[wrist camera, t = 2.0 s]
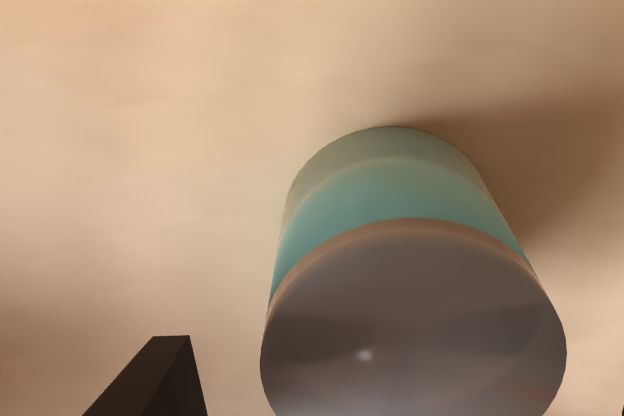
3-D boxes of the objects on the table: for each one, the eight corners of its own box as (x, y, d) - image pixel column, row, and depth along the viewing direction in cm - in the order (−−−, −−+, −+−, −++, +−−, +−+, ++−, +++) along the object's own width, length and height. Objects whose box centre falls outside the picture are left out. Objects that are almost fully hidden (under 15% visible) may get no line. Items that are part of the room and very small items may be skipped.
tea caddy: (533, 216, 13) (630, 366, 9) (386, 335, 15) (408, 507, 11) (383, 80, 12) (412, 180, 8) (242, 230, 14) (200, 379, 9)
